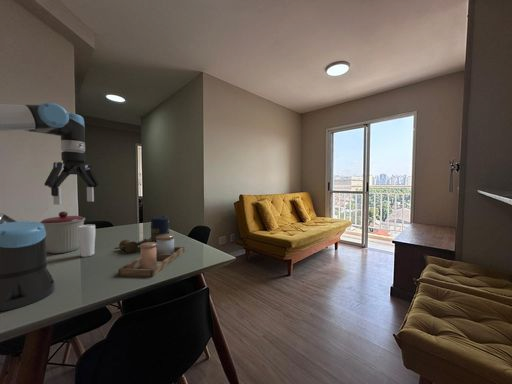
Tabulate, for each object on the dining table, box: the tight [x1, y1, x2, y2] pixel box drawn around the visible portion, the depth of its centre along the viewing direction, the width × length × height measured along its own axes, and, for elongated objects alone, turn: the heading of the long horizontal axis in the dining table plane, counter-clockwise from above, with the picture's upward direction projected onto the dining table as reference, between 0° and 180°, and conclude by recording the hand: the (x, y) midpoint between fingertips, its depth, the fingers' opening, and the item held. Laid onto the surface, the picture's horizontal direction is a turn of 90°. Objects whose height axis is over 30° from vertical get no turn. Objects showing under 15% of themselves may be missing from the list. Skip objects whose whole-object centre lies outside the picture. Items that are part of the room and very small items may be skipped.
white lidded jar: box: [156, 233, 176, 254], centre depth 102 cm, size 9×9×10 cm
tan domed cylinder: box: [139, 242, 158, 269], centre depth 88 cm, size 6×6×10 cm
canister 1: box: [38, 211, 86, 254], centre depth 109 cm, size 18×18×21 cm
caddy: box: [118, 246, 185, 278], centre depth 94 cm, size 29×14×2 cm, turn 176°
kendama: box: [113, 237, 151, 254], centre depth 112 cm, size 6×10×20 cm
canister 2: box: [150, 215, 170, 248], centre depth 116 cm, size 10×10×18 cm
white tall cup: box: [78, 224, 97, 258], centre depth 102 cm, size 7×7×15 cm
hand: (75, 202), depth 86 cm, fingers open, 13 cm apart
